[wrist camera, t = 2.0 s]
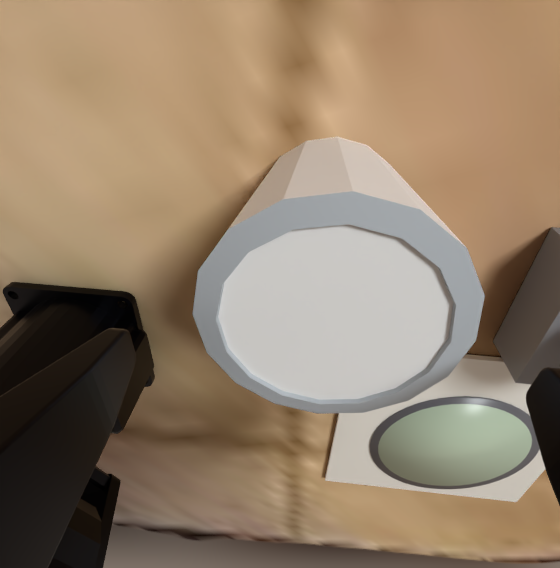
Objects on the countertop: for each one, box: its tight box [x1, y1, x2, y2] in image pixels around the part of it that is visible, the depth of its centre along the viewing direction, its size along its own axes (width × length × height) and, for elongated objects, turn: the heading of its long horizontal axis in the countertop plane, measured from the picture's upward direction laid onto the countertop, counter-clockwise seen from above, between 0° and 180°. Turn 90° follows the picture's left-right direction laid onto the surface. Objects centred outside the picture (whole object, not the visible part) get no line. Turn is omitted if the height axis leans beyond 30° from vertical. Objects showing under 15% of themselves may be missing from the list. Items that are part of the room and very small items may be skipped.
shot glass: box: [193, 137, 485, 413], centre depth 12 cm, size 7×7×7 cm
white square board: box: [325, 354, 545, 502], centre depth 22 cm, size 13×13×1 cm
